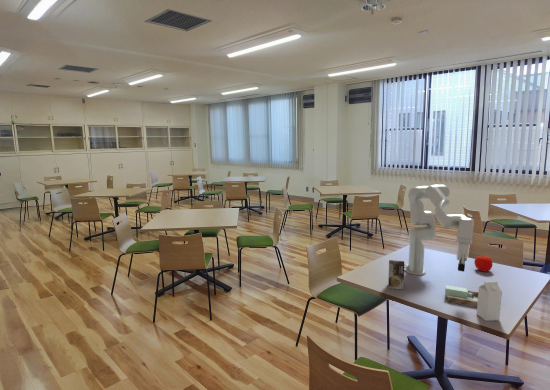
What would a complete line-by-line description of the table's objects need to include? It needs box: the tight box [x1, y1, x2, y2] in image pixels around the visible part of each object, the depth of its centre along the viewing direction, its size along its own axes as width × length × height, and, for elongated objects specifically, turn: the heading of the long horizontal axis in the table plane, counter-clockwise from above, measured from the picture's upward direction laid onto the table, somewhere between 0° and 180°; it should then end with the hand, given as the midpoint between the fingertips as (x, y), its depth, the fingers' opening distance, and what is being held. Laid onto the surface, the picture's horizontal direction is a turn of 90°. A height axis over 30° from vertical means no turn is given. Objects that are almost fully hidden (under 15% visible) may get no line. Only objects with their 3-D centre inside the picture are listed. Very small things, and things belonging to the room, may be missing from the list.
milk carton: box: [476, 281, 503, 322], centre depth 169 cm, size 7×7×19 cm
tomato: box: [474, 254, 493, 272], centre depth 232 cm, size 10×11×11 cm
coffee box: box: [387, 259, 406, 291], centre depth 206 cm, size 9×6×16 cm
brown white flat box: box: [447, 289, 479, 308], centre depth 189 cm, size 20×14×4 cm
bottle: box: [444, 284, 474, 299], centre depth 190 cm, size 5×5×14 cm
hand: (461, 270), depth 189 cm, fingers closed
